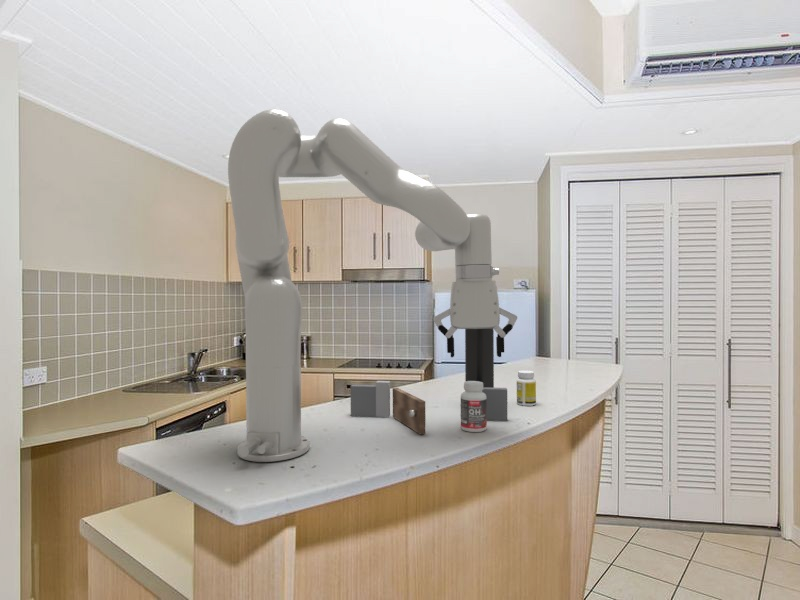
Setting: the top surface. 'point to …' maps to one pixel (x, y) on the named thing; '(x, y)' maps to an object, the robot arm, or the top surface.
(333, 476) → the top surface
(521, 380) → the supplement bottle
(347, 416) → the top surface
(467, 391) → the pill bottle
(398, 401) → the door
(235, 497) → the top surface
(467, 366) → the wine bottle
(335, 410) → the top surface
